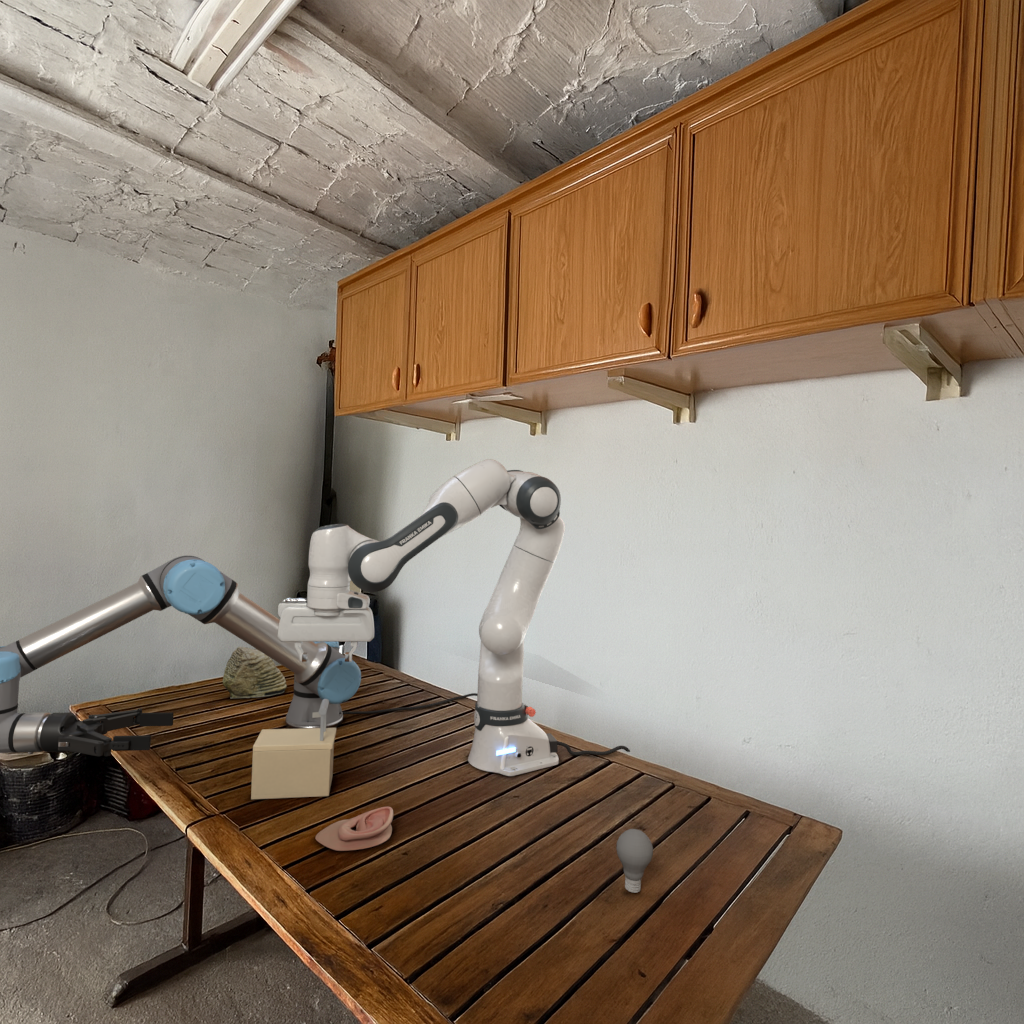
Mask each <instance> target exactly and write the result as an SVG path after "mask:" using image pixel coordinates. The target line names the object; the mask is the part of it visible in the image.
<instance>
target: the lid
mask: <svg viewBox="0 0 1024 1024" xmlns="http://www.w3.org/2000/svg"><path fill="white" fill-rule="evenodd" d="M328 705H329V700H328V699H323V700H322V703H321V706H320V709H319V714H320V715H321V723H320V728H304V729H289V728H271V729H270V728H269V729H264V728H263V729H261V731H260V732H259V734H258V737H257V738H256V739H255V742H254V744H253V745H252V752H253V751H282V750H314V749H333V745H334V746H335V740H336V735H337V727H335V728H326V715H327V709H328Z"/></svg>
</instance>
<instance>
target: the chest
mask: <svg viewBox="0 0 1024 1024" xmlns="http://www.w3.org/2000/svg"><path fill="white" fill-rule="evenodd" d="M334 751H335V744H334V745H333V749H314V750H282V751H253V750H252V760H251V761H252V765H251V789H250V791H251V792H250V800H269V799H291V798H293V799H294V798H309V797H311V798H313V797H317V798H318V797H329V796H330V792H331V788H332V787H331V786H332V781H333V778H334V777H333V774H334Z"/></svg>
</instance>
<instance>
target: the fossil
mask: <svg viewBox="0 0 1024 1024" xmlns="http://www.w3.org/2000/svg"><path fill="white" fill-rule="evenodd" d="M274 661H275V660H273V659H272V658H270V657H268V656H267V655H265V654H264V653H262V652H261V651H259V650H257V649H256V648H251V647H247V646H246V647H245V646H238V647H237V648H236V649H235V650H233V651H232V653H231V656H230V657H229V659H228V660H227V663H226V666H225V668H224V671H223V675H222V676H223V677H222V685H223V687H224V688H225V690H226V691H228V693H229V698H230V699H250V698H264V697H271V696H275V695H281V694H284V693H285V691H286V689H287V687H288V686H287V680H286V678H285V676H284V674H283V673H282V672H281V669H279V668H278V667H277V665H276V663H275V662H274Z"/></svg>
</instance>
